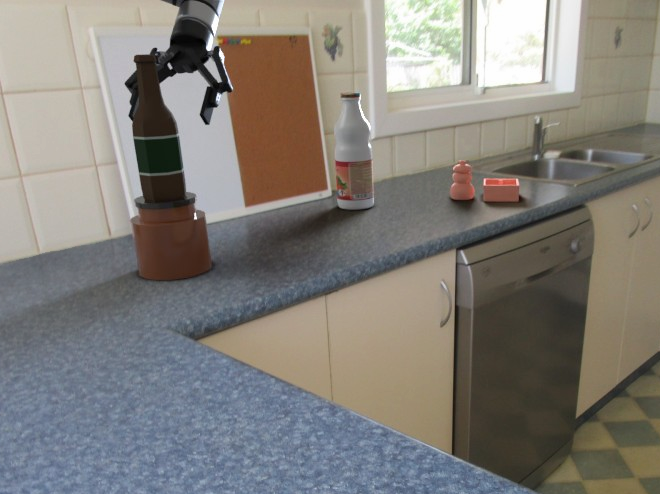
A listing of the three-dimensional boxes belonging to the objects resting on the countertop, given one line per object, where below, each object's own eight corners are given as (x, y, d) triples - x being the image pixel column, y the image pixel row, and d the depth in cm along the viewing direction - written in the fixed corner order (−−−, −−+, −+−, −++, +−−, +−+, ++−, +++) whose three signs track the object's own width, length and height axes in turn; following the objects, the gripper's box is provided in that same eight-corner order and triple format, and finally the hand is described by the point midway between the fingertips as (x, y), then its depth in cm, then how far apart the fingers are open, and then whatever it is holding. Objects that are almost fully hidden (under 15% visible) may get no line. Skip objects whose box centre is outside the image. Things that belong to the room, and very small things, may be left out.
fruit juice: (369, 210, 166) (364, 93, 156) (333, 209, 167) (326, 94, 158) (378, 202, 174) (373, 91, 164) (343, 202, 176) (337, 91, 166)
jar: (138, 264, 127) (126, 194, 122) (207, 255, 131) (199, 187, 127) (139, 284, 116) (126, 208, 111) (216, 274, 120) (206, 200, 115)
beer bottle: (193, 197, 118) (174, 53, 109) (149, 203, 114) (125, 54, 105) (180, 191, 124) (161, 54, 115) (137, 196, 120) (114, 55, 111)
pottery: (517, 194, 180) (518, 157, 177) (518, 201, 172) (520, 163, 168) (451, 194, 183) (451, 158, 179) (449, 201, 174) (449, 163, 171)
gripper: (261, 45, 129) (241, 133, 121) (143, 49, 133) (115, 134, 125) (249, 14, 123) (227, 105, 114) (124, 19, 126) (93, 107, 118)
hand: (168, 120), depth 119 cm, fingers open, 13 cm apart
